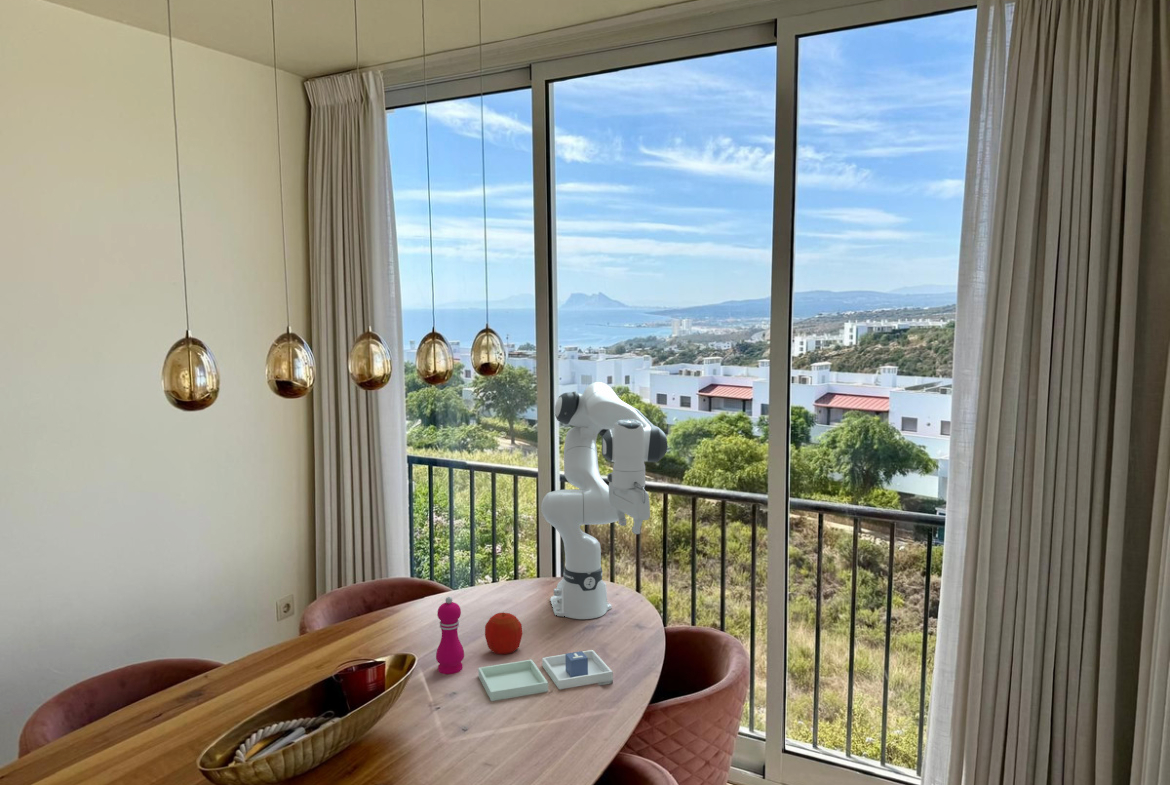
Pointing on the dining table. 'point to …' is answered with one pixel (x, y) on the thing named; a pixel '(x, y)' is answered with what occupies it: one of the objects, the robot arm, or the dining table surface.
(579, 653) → the letter cube
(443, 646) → the pepper mill
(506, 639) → the apple
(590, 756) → the dining table surface
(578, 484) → the robot arm
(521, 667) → the tray sage
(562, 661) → the tray offwhite
